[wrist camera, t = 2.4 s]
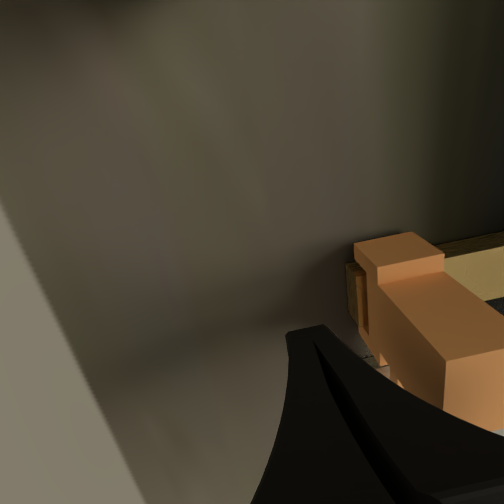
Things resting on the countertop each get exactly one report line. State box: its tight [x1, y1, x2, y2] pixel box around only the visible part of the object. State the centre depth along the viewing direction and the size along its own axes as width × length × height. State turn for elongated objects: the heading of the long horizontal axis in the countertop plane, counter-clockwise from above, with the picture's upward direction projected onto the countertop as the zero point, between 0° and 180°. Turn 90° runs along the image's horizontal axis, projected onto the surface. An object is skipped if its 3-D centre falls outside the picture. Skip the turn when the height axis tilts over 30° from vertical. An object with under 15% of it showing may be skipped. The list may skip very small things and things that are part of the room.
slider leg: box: [354, 231, 504, 431], centre depth 14 cm, size 2×11×6 cm, turn 10°
